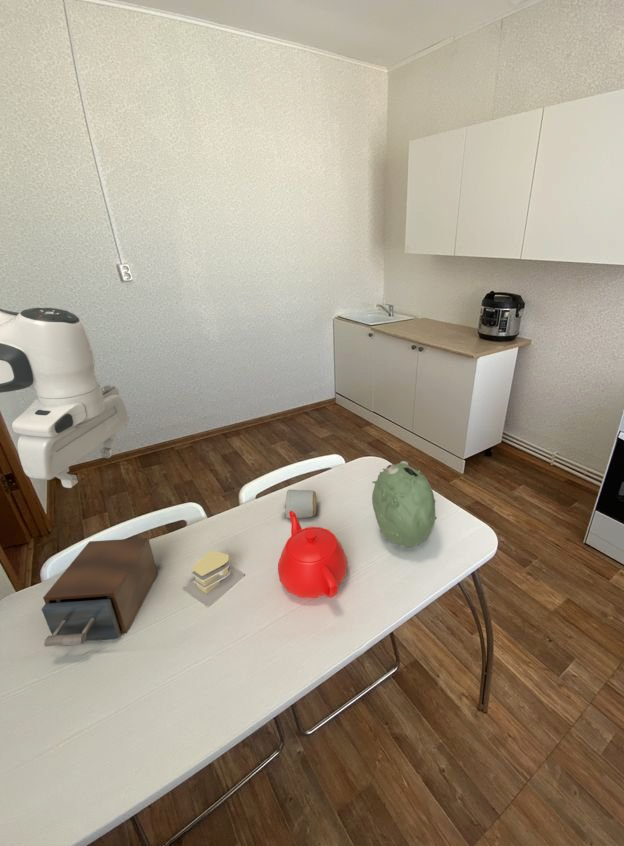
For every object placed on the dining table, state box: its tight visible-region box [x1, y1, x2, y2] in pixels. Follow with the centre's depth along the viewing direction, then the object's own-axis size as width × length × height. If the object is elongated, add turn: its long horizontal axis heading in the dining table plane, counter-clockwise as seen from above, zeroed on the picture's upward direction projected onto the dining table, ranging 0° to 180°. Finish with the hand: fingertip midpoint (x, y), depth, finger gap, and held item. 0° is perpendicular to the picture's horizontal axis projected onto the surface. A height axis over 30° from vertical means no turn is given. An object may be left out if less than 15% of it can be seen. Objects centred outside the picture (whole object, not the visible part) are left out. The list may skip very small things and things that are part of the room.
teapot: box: [277, 511, 348, 599], centre depth 86 cm, size 25×16×12 cm, turn 30°
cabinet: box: [42, 537, 159, 635], centre depth 79 cm, size 15×13×11 cm
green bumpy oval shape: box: [371, 460, 437, 548], centre depth 95 cm, size 16×19×20 cm
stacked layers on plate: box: [182, 551, 246, 608], centre depth 85 cm, size 10×9×6 cm
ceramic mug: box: [285, 489, 317, 519], centre depth 108 cm, size 11×8×8 cm
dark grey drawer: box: [41, 596, 122, 647], centre depth 75 cm, size 18×11×9 cm, turn 4°
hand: (91, 469), depth 72 cm, fingers open, 8 cm apart
